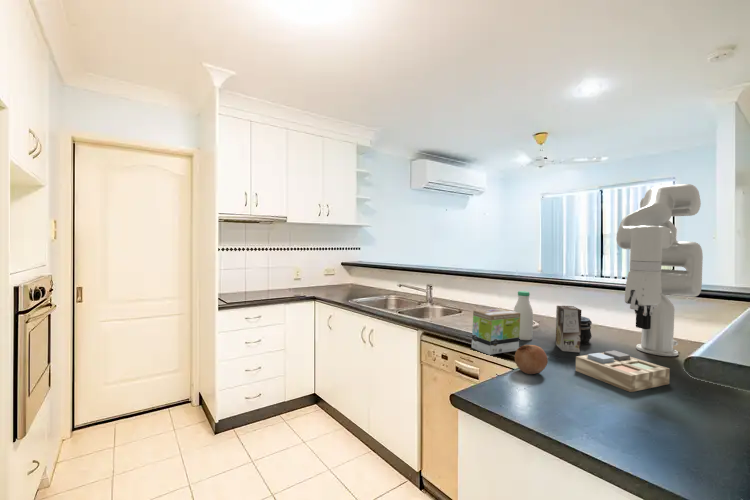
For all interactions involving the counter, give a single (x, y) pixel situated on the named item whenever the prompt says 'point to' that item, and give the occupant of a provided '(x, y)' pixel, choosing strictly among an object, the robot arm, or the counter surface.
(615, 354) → the key charcoal
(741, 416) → the counter surface
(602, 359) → the key pale blue
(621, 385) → the wooden puzzle board
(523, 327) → the milk bottle
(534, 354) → the onion
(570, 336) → the coffee box
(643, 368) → the key sage
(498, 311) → the tea box
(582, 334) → the container
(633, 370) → the key terracotta
